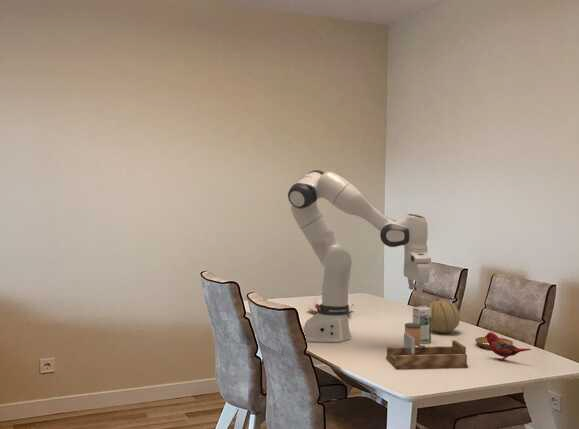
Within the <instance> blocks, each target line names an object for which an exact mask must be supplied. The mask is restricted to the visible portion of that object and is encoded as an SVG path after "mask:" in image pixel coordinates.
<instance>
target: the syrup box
mask: <svg viewBox="0 0 579 429" xmlns="http://www.w3.org/2000/svg"><path fill="white" fill-rule="evenodd" d="M412 323H417V324H421V336H420V344H431V343H432V328H431V308H429V306H425V305H424V306H413V307H412Z"/></svg>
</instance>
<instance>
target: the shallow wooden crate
mask: <svg viewBox="0 0 579 429" xmlns="http://www.w3.org/2000/svg"><path fill="white" fill-rule="evenodd" d="M451 343H452V344H451V345H450V346H449V345H448V346H447V345H445V346H441V345H440V346H425V350H415V355H404V346H400V347H399V346H398V347H396V346H395V347H394V346H393V347H392V346H391V347H386V356H385V359H386V361H388V363H390V365H392V367H394V368H395V370H396V371H397V370H433V369H435V370H436V369H438V370H439V369H442V368H443V369H468V367H469V365H468V354H467V353H466V352H467V347H466V346H465V345H463V344H462V343H460V342H459V341H458V340H452V342H451Z"/></svg>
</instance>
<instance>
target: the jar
mask: <svg viewBox="0 0 579 429" xmlns="http://www.w3.org/2000/svg"><path fill="white" fill-rule="evenodd" d="M404 333H408V334H409V335H410V336H412V337H413V338H414V339H415V346H421V343H420V336H421V324H417V323H413V322H407V323H405V324H404Z"/></svg>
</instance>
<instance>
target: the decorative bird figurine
mask: <svg viewBox="0 0 579 429" xmlns="http://www.w3.org/2000/svg"><path fill="white" fill-rule="evenodd" d="M484 337H486V338H487V341H488V343H489V346H490V348H491V349H490V350H491V351H492V352H493V353H494V354H495V355H497V356H500V357H502V358H500V357H494V359H495V360H498V361H504V362H506V361H507V362H508V361H509V360H508V359H507V358H508V357H512V356H516V355H517V354H519V353H521V352H526V351H531V350H532V348H519V347H517V346H515V345H513V344H510V343H508V342H505V341H503V340H501V339H500V338H501V337H499V336H498V335H497V334H495V333H494V332H493V331H489V332H487V333H486V335H485V336H484Z"/></svg>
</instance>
